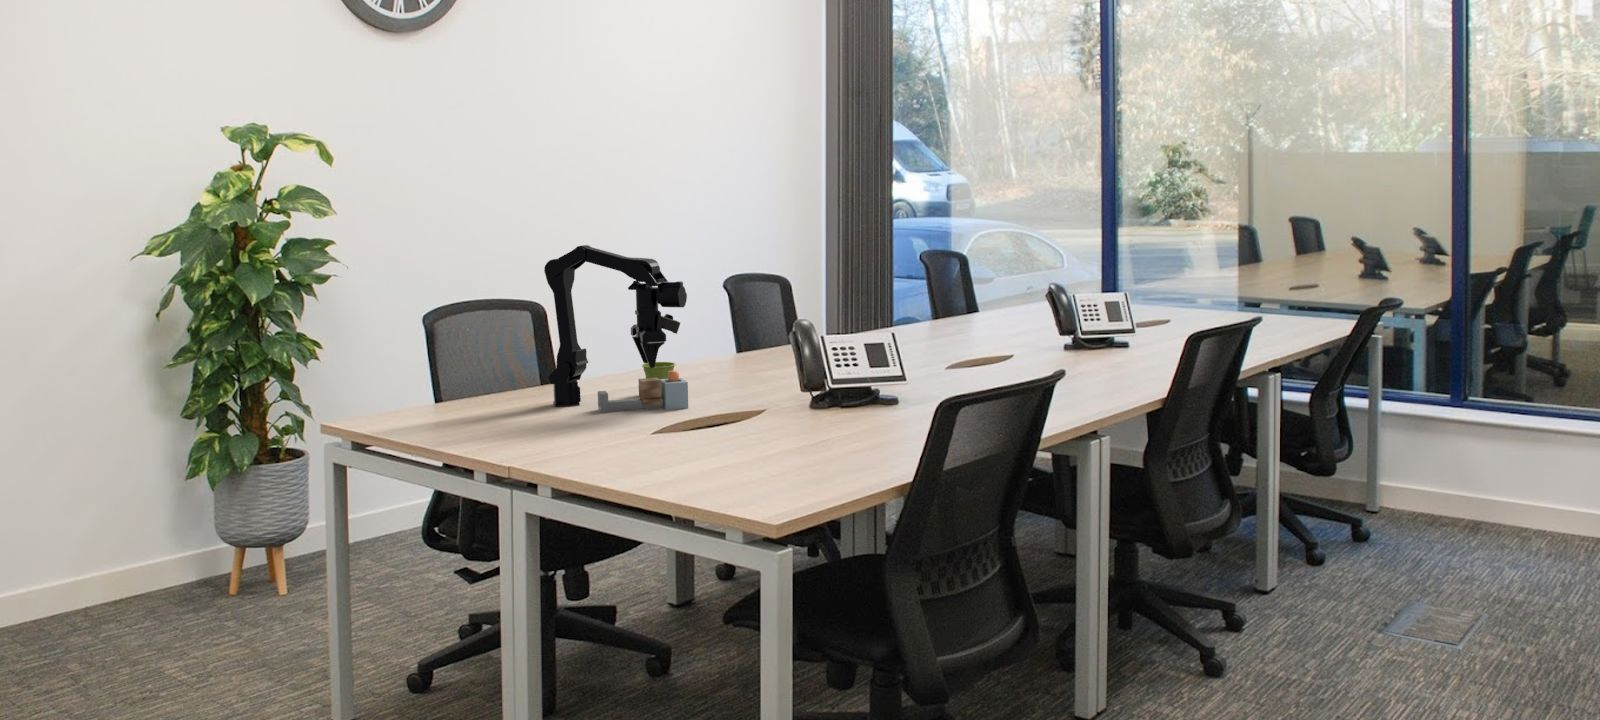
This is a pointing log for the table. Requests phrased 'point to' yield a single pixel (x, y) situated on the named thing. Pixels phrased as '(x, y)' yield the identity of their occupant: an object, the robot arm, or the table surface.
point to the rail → (623, 404)
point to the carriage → (650, 391)
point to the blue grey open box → (674, 394)
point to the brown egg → (673, 376)
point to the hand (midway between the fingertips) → (648, 365)
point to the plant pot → (658, 370)
